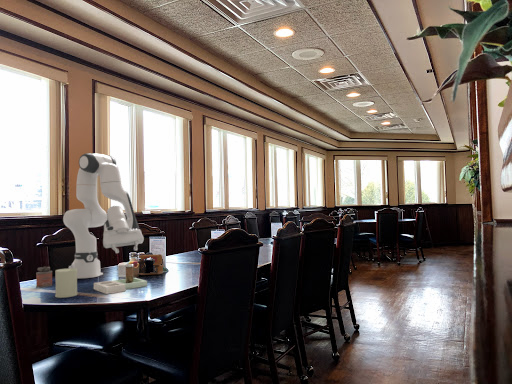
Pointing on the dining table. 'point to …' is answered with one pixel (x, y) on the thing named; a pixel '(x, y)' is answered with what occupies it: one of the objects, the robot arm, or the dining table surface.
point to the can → (66, 282)
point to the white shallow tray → (109, 287)
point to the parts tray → (135, 283)
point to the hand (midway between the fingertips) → (126, 251)
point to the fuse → (129, 273)
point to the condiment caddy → (157, 264)
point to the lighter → (44, 277)
